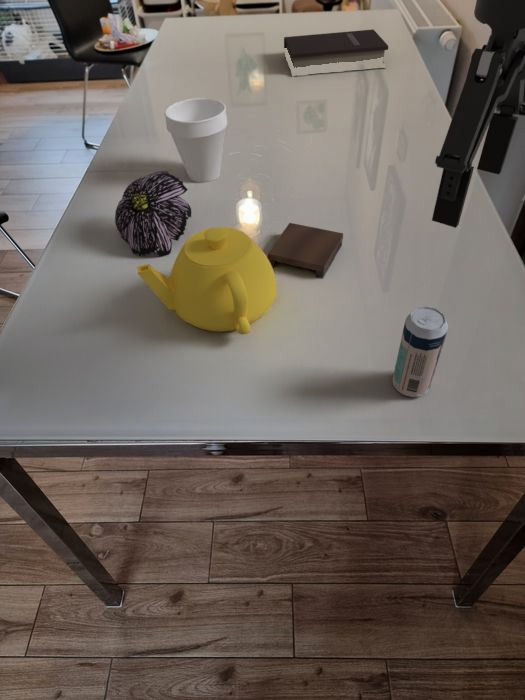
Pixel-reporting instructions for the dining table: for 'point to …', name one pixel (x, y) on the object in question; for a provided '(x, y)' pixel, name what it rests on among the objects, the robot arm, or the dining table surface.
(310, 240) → the flat wooden board
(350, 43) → the book
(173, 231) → the decorative flower
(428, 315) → the beer can
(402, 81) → the dining table surface
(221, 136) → the cup
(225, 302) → the teapot
